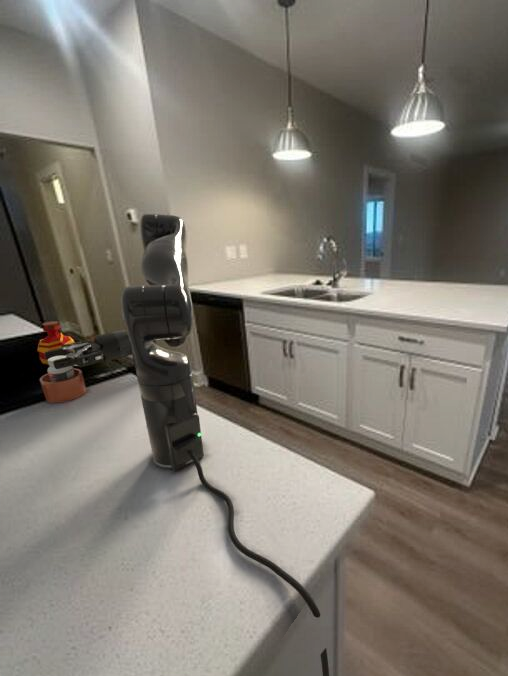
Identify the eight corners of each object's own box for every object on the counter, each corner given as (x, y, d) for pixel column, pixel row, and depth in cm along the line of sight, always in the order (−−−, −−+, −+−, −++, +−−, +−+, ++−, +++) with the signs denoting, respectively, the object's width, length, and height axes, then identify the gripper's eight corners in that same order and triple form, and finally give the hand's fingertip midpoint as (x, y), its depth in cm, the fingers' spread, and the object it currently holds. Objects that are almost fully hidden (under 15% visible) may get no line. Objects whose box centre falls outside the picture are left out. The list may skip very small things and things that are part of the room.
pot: (91, 393, 92) (86, 375, 90) (50, 406, 86) (44, 386, 83) (80, 383, 98) (75, 365, 96) (41, 394, 91) (35, 375, 89)
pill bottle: (50, 397, 89) (39, 362, 85) (61, 387, 94) (51, 354, 90) (72, 396, 89) (62, 361, 86) (82, 387, 94) (73, 354, 91)
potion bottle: (89, 367, 108) (77, 321, 102) (53, 379, 100) (38, 330, 94) (72, 361, 113) (60, 316, 107) (36, 371, 105) (21, 324, 99)
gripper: (104, 327, 101) (38, 340, 90) (124, 337, 92) (53, 353, 81) (110, 351, 104) (46, 366, 93) (129, 363, 95) (61, 382, 84)
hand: (49, 360), depth 87 cm, fingers open, 8 cm apart
